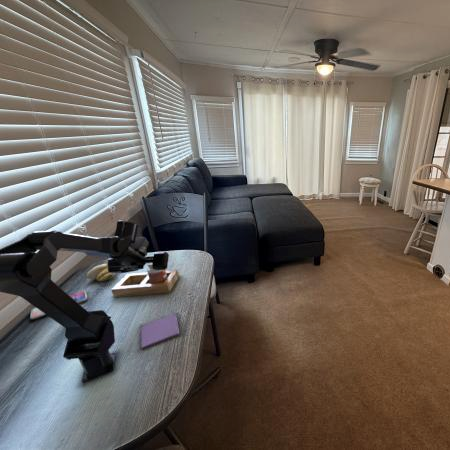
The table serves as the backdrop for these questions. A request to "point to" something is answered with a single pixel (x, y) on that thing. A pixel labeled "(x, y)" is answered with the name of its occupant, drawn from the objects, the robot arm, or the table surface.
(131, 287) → the bottle rack
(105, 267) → the yellow banana bunch
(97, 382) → the table surface
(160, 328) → the mat
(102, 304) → the table surface
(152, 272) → the pill bottle
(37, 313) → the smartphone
